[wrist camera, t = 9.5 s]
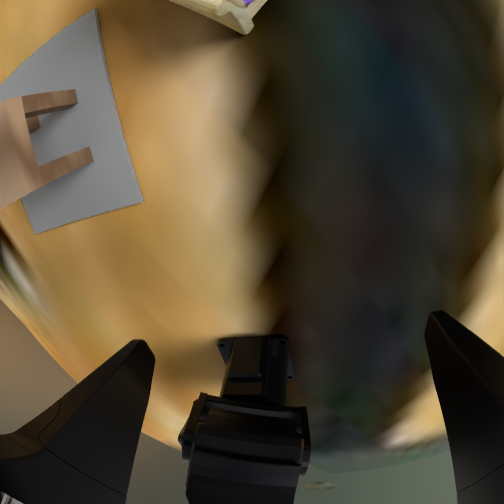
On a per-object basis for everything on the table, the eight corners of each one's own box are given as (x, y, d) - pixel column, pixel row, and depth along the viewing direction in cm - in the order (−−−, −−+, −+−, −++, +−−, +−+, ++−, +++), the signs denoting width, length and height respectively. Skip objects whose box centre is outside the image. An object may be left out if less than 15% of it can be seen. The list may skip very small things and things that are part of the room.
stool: (94, 161, 18) (27, 194, 12) (47, 182, 19) (-11, 217, 13) (75, 89, 15) (3, 99, 9) (30, 120, 16) (-33, 141, 10)
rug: (144, 200, 19) (141, 202, 19) (37, 232, 22) (35, 234, 22) (97, 9, 12) (94, 8, 11) (-3, 90, 15) (-6, 91, 14)
